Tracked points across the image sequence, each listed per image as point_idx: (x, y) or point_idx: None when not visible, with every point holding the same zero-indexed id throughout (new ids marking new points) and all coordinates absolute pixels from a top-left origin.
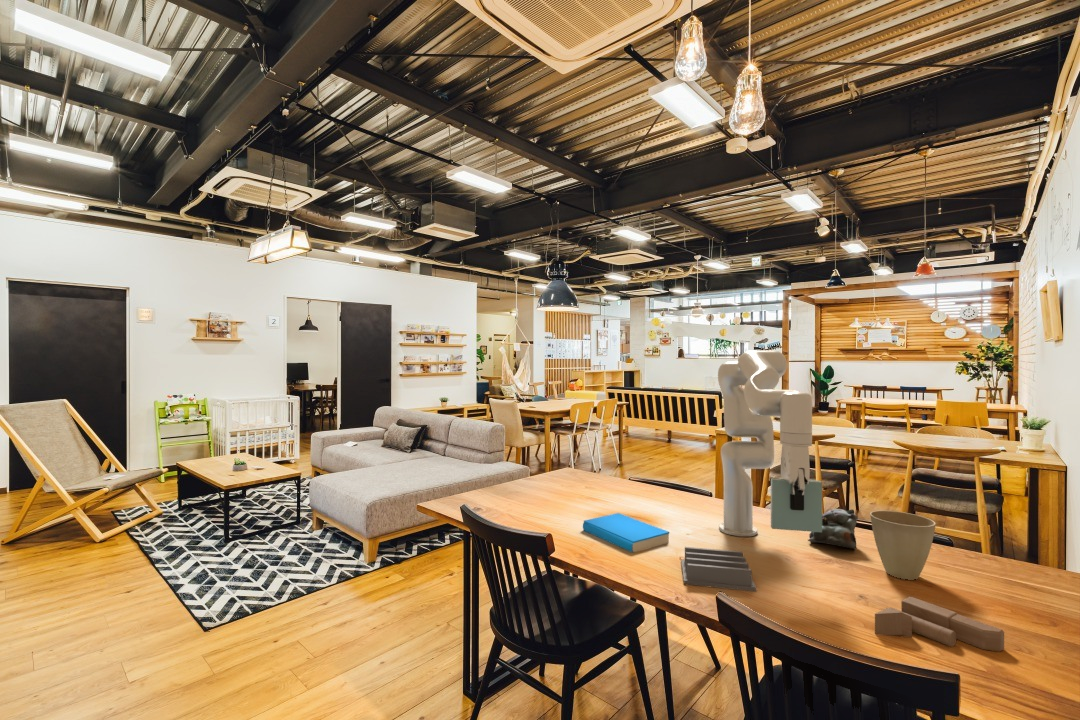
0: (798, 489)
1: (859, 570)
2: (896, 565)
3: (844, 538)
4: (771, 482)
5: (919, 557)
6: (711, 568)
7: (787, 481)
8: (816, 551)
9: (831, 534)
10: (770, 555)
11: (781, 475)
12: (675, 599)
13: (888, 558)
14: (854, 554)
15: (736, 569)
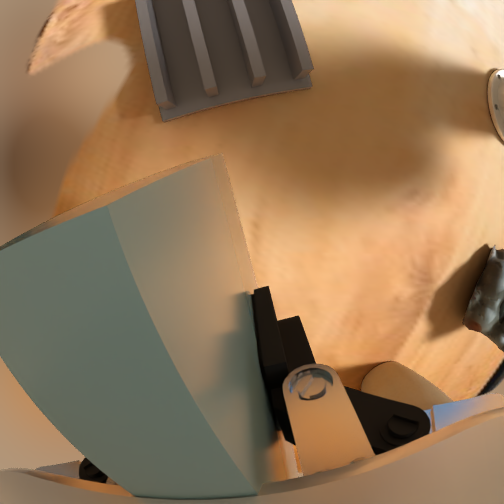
0: (64, 469)
1: (388, 327)
2: (367, 391)
3: (470, 320)
4: (83, 208)
5: None
6: (139, 15)
7: (21, 481)
8: (461, 257)
9: (483, 299)
10: (420, 157)
11: (461, 459)
12: (66, 9)
13: (378, 388)
14: (454, 317)
15: (148, 67)
